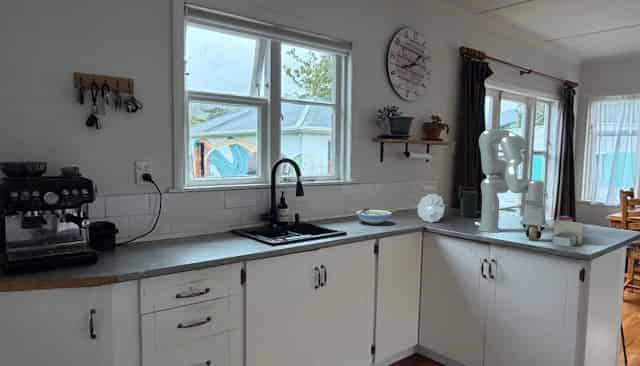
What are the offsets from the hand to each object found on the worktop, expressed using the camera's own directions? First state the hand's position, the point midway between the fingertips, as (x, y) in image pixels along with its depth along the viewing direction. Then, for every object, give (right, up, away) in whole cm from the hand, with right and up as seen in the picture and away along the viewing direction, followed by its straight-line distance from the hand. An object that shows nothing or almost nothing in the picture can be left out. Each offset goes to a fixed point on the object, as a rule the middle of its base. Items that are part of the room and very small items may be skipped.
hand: (533, 237), depth 225 cm
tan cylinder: (0, -2, 0) cm, 2 cm away
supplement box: (+22, -1, +9) cm, 24 cm away
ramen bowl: (-79, +3, +48) cm, 92 cm away
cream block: (+13, -2, -7) cm, 15 cm away
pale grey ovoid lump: (-38, +3, +62) cm, 73 cm away
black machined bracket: (-6, +5, +83) cm, 84 cm away
